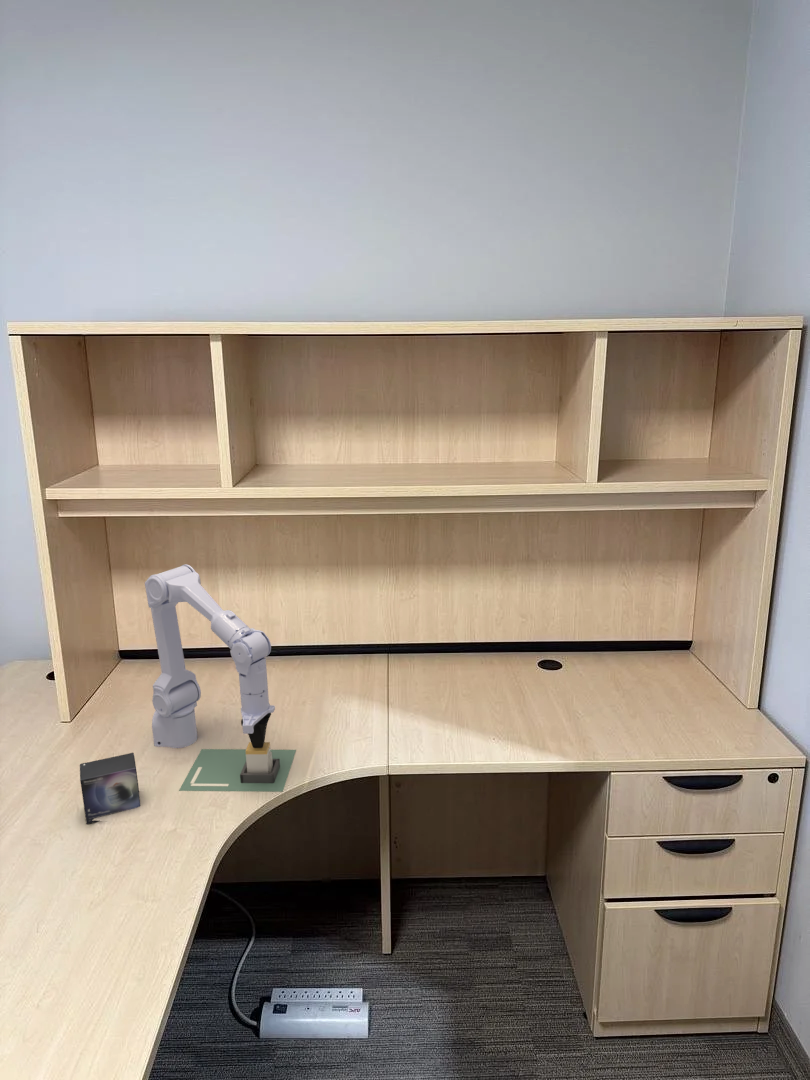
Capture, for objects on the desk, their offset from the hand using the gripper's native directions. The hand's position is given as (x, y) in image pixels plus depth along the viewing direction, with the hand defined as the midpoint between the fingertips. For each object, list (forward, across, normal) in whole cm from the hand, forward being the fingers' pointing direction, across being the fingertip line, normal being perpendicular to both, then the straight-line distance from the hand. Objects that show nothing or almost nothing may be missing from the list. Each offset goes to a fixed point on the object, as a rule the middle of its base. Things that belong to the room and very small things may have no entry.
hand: (258, 746), depth 159 cm
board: (+8, +2, +5) cm, 10 cm away
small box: (+8, -11, +28) cm, 31 cm away
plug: (+7, 0, 0) cm, 7 cm away
